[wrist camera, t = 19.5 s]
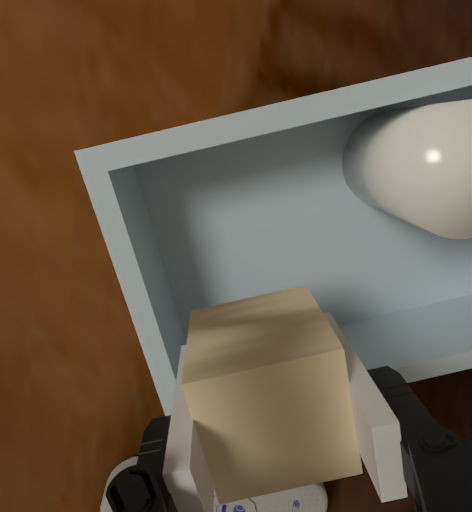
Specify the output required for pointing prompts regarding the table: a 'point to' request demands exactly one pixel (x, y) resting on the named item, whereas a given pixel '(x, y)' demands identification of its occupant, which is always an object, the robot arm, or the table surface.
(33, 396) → the table surface
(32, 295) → the table surface
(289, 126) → the tote
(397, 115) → the white egg
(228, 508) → the electronic device
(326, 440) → the beech cube
